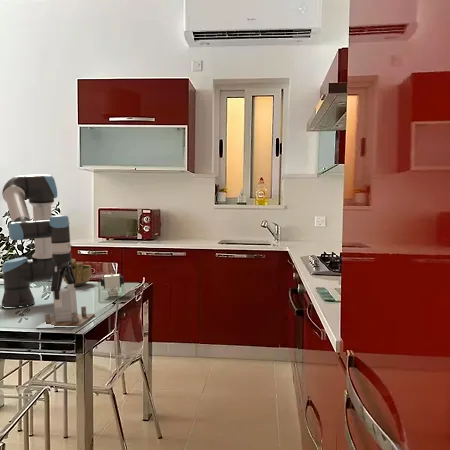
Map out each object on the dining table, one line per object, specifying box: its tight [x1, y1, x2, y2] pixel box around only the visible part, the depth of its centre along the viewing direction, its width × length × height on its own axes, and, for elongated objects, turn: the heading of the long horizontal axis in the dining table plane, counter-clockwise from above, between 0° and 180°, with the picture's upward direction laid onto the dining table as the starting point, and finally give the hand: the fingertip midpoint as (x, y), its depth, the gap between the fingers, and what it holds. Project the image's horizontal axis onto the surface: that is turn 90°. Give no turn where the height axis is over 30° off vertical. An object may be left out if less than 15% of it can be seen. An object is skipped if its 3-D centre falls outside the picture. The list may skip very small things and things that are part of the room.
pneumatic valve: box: [99, 272, 125, 298], centre depth 250 cm, size 6×12×12 cm, turn 103°
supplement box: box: [52, 287, 79, 322], centre depth 200 cm, size 7×7×13 cm
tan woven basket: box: [62, 258, 93, 287], centre depth 286 cm, size 22×17×15 cm
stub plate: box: [43, 305, 96, 327], centre depth 200 cm, size 18×18×5 cm
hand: (65, 303), depth 200 cm, fingers open, 13 cm apart
